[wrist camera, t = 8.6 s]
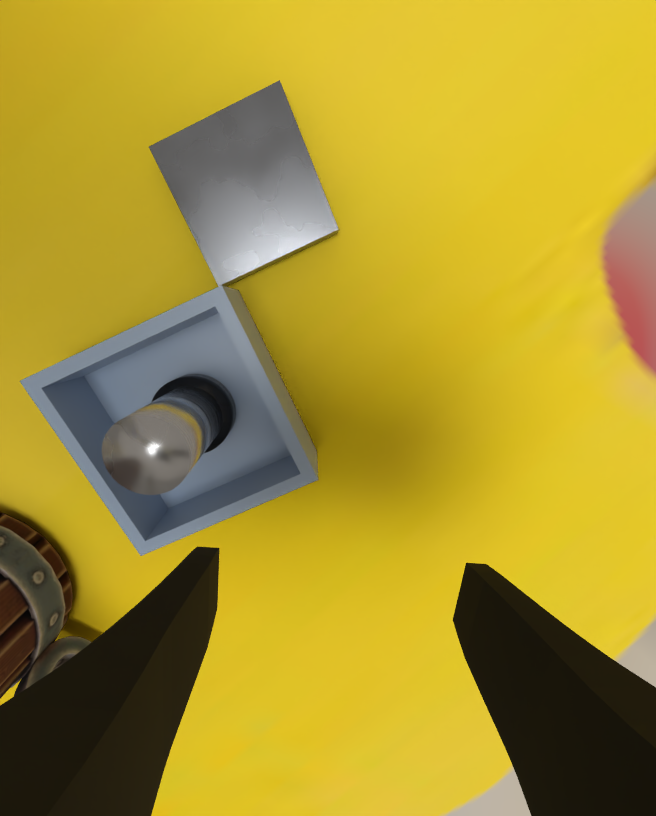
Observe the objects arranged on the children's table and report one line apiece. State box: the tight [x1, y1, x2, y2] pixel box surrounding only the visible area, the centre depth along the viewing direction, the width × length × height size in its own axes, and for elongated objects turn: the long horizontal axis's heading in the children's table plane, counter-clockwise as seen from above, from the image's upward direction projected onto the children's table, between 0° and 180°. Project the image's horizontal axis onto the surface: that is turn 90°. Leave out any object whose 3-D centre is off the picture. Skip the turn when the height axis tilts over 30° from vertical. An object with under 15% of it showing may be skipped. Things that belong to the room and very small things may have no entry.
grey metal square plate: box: [149, 80, 339, 286], centre depth 16 cm, size 6×6×1 cm
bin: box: [20, 285, 318, 556], centre depth 17 cm, size 9×9×4 cm
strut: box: [102, 374, 236, 495], centre depth 16 cm, size 4×4×6 cm
